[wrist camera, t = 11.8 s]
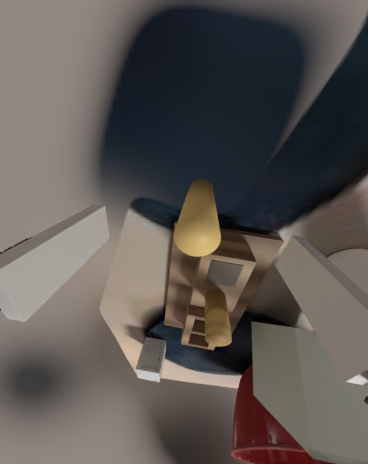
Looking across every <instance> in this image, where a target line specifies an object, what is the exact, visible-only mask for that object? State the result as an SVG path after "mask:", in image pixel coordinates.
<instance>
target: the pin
mask: <svg viewBox="0 0 368 464" xmlns="http://www.w3.org/2000/svg"><path fill="white" fill-rule="evenodd" d="M174 241H175V244H176V246H177V247H178V248H179V249H180V250H181V251H182V252H184V253H185V254H187V255H190V256H195V257H200V256H206V255H208V254H211V253H212V252H214V251H215V250H216V249H217V247H218V246H219V244H220V241H221V233H220V228H219V222H218V216H217V211H216V206H215V200H214V194H213V189H212V185H211V184H210V182H208V181H207V180H205V179H198V180H195V181H194V182H193V183H192V184H191V185H190V188H189V191H188V194H187V196H186V199H185V202H184V205H183V208H182V211H181V214H180V216H179V219H178V222H177V225H176V228H175V231H174Z"/></svg>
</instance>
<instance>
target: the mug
mask: <svg viewBox="0 0 368 464" xmlns="http://www.w3.org/2000/svg"><path fill="white" fill-rule="evenodd" d="M327 259H328V260H329V261H330V262H332V263H333V264H334V265H335V266H336V267H337V268H338V269H339V270H340V271H342V272H343V273H344V274H345V275H346V276H347V277H348V278H349V279H350V280H352V281H353V282H354V283H355V284H356V285H357V286H358V287H359V288H360V289H362V290H363V291H364V292H365V293H366V294H367V295H368V250H365V249H348V250H343V251H340V252H337V253H335V254H333V255H331V256H329V257H327Z"/></svg>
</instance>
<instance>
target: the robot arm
mask: <svg viewBox="0 0 368 464" xmlns="http://www.w3.org/2000/svg"><path fill="white" fill-rule="evenodd" d="M108 239H110V237H109V230H108V224H107V217H106V210H105V206H103V205H96V204H94V205H92V206H90V207H88V208H86V209H84V210H82V211H81V212H79V213H77V214H75V215H73V216H71V217H69V218H67V219H66V220H64V221H62V222H60V223H58V224H56V225H54V226H52V227H51V228H49V229H47V230H45V231H43V232H41V233H39V234H37V235H36V236H34V237H31V238H28V239H25V240H23V241H21V242H19V243H17V244H16V245H14V247H10V248H8V249H6V250H4V252H0V310H1V311H2V312H3V313H4V315H5V316H6V317H7V318H8V319H12V320H17V321H23V322H25V321H26V320H28V319H29V318H30V317H31V316H32V315H33V314H34V313H35V312H36V311H37V310H38V309H39V308H40V307H41V306H42V305H43V304H44V303H45V302H46V301H47V300H48V299H49V298H50V297H51V296H52V295H53V294H54V293H55V292H56V291H57V290H58V289H59V288H60V287H61V286H62V285H63V284H64V283H65V282H66V281H67V280H68V279H69V278H70V277H71V276H72V275H73V274H74V273H75V272H76V271H77V270H78V269H79V268H80V267H81V266H82V265H83V264H84V263H85V262H86V261H87V260H88V259H89V258H90V257H91V256H92V255H93V254H94V253H95V252H96V251H97V250H98V249H99V248H100V247H101V246H102V245H104V243H105V242H106V241H107V240H108ZM275 267H276V268H277V270H278V271H279V273H280V275H281V276H282V278H283V280H284V281H285V283H286V285H287V286H288V288H289V290H290V291H291V293H292V295H293V296H294V298H295V300H296V301H297V303H298V304H299V306H300V308H301V309H302V311H303V313H304V314H305V316H306V318H307V319H308V321H309V323H310V324H311V326H312V328H313V329H314V331H315V332H316V334H317V336H318V337H319V339H320V341H321V342H322V344H323V346H324V347H325V349H326V351H327V352H328V354H329V356H330V357H331V359H332V360H333V362H334V364H335V365H336V367H337V369H338V370H339V372H340V374H341V375H342V377H343V379H344V380H345V382H349V383H355V384H360V385H365V386H366V385H368V295H367V294H366V293H365V292H364V291H363V290H362V289H360V288H359V287H358V286H357V285H356V284H355V283H354V282H353V281H352V280H350V279H349V278H348V277H347V276H346V275H345V274H344V273H343V272H342V271H340V270H339V269H338V268H337V267H336V266H335V265H334V264H333V263H332V262H330V261H329V260H328V259H327V258H326V257H325V256H324V255H323V254H322V253H320V252H319V251H318V250H317V249H316V248H315V247H314V246H313V245H312V244H310V243H309V242H308V241H307V240H306V239H305V238H304V237H298V236H292V237H291V239H290V240H289V242H288V244H287V246H286V247H285V249H284V251H283V253H282V254H281V256H280V258H279V260H278V261H277V263H276V265H275ZM364 402H365V403H366V404H368V396H367V397H365V400H364Z"/></svg>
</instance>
